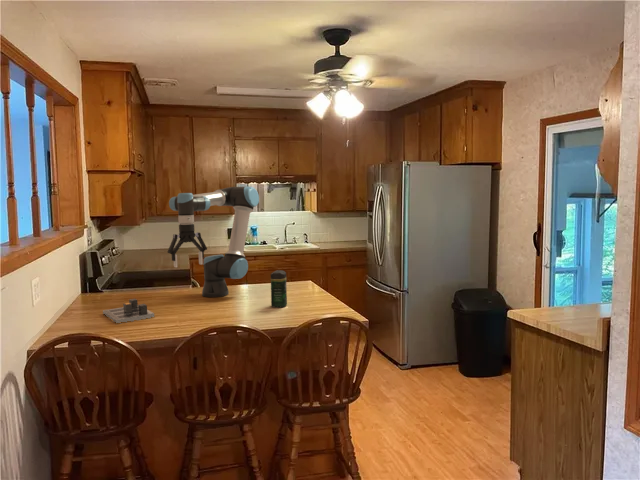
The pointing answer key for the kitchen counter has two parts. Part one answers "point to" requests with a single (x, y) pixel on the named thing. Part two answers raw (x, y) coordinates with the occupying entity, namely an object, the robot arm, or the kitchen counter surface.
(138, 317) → the breaker panel
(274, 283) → the coffee jar
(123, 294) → the kitchen counter surface
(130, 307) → the block
